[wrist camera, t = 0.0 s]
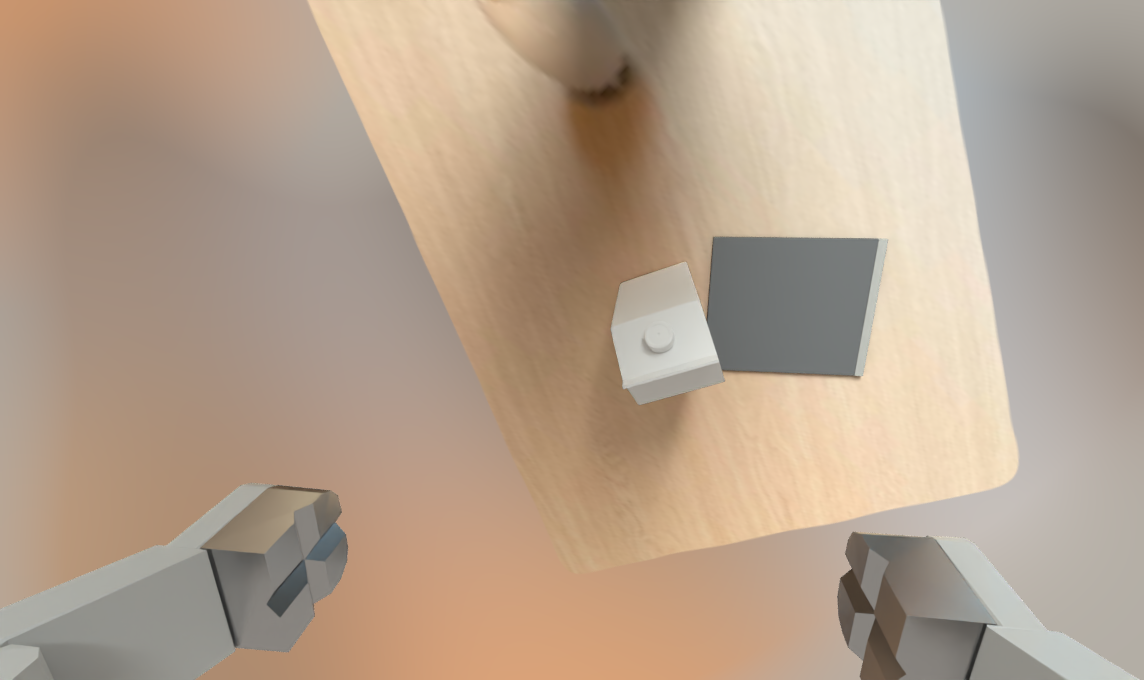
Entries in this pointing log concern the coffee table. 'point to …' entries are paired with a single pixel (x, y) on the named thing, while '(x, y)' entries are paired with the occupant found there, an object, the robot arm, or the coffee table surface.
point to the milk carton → (663, 336)
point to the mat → (794, 303)
